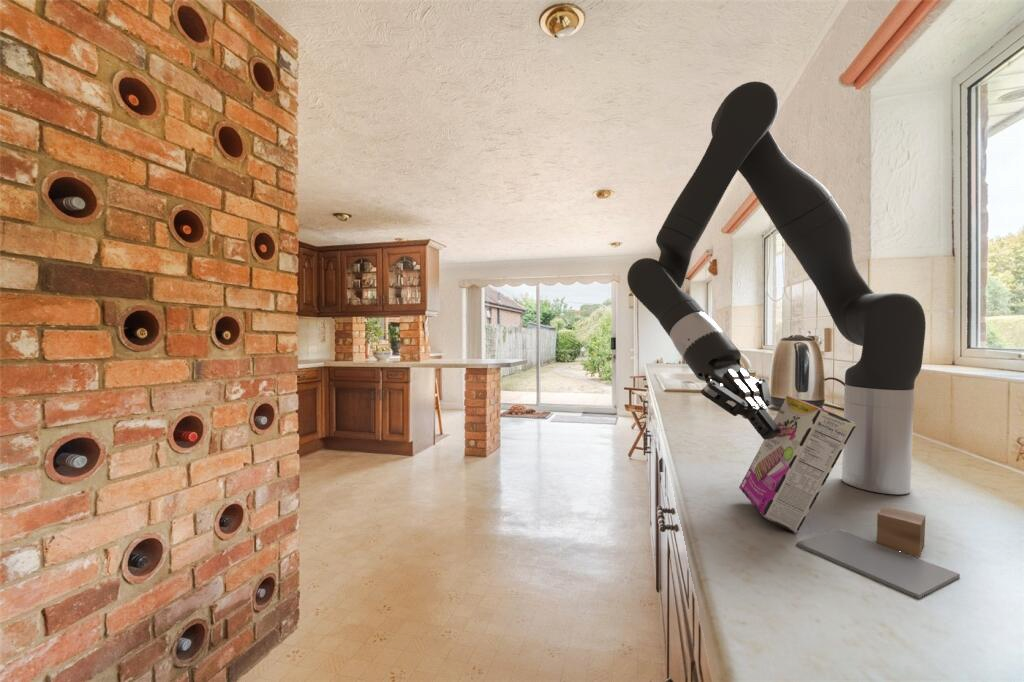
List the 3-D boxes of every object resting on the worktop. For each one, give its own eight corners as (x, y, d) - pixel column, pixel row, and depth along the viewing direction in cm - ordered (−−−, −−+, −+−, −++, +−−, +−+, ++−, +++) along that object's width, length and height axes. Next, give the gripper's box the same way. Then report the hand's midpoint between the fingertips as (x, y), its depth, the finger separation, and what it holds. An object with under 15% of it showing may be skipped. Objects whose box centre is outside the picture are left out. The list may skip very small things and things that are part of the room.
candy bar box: (735, 487, 69) (785, 393, 68) (767, 502, 69) (818, 408, 67) (760, 516, 59) (820, 406, 57) (798, 535, 58) (860, 423, 56)
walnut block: (882, 535, 58) (883, 505, 58) (924, 547, 55) (925, 515, 55) (876, 545, 55) (877, 513, 55) (919, 558, 52) (920, 524, 52)
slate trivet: (838, 531, 59) (838, 528, 59) (959, 577, 48) (959, 573, 48) (796, 545, 55) (796, 542, 55) (918, 598, 44) (918, 594, 44)
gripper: (687, 329, 68) (760, 425, 57) (745, 330, 73) (822, 417, 63) (660, 361, 72) (724, 455, 62) (717, 359, 78) (783, 445, 68)
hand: (773, 435), depth 62 cm, fingers closed
